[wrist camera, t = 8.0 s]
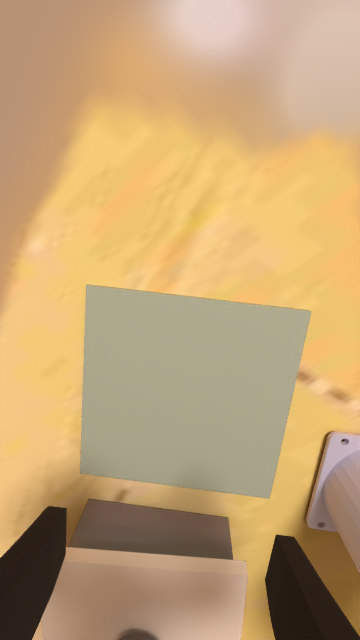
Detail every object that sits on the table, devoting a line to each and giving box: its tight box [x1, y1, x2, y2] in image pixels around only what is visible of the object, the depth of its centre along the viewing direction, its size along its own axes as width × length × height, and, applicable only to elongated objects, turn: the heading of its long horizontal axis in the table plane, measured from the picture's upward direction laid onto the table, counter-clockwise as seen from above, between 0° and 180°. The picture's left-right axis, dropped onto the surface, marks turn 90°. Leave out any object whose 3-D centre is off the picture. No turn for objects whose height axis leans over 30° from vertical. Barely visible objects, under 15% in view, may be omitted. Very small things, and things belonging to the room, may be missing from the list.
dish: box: [68, 499, 233, 560], centre depth 21 cm, size 11×11×5 cm
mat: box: [80, 285, 311, 499], centre depth 20 cm, size 14×14×1 cm
